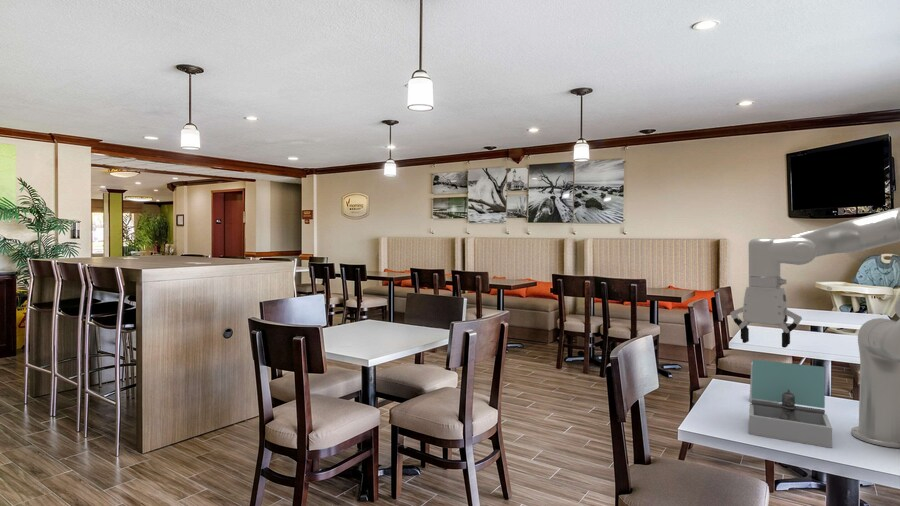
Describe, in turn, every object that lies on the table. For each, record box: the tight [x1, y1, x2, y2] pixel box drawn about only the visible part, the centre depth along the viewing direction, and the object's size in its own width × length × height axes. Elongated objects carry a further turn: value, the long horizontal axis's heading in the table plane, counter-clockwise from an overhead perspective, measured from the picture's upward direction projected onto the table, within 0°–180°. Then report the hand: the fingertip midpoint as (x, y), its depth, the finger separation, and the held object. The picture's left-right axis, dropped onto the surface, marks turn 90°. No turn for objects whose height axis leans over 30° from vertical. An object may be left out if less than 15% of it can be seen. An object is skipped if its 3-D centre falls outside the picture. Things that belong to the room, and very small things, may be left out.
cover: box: [751, 358, 826, 414], centre depth 145 cm, size 17×13×1 cm
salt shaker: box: [776, 389, 800, 422], centre depth 139 cm, size 6×6×12 cm
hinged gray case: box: [748, 402, 833, 449], centre depth 139 cm, size 18×12×5 cm, turn 59°
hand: (764, 344), depth 144 cm, fingers open, 9 cm apart
